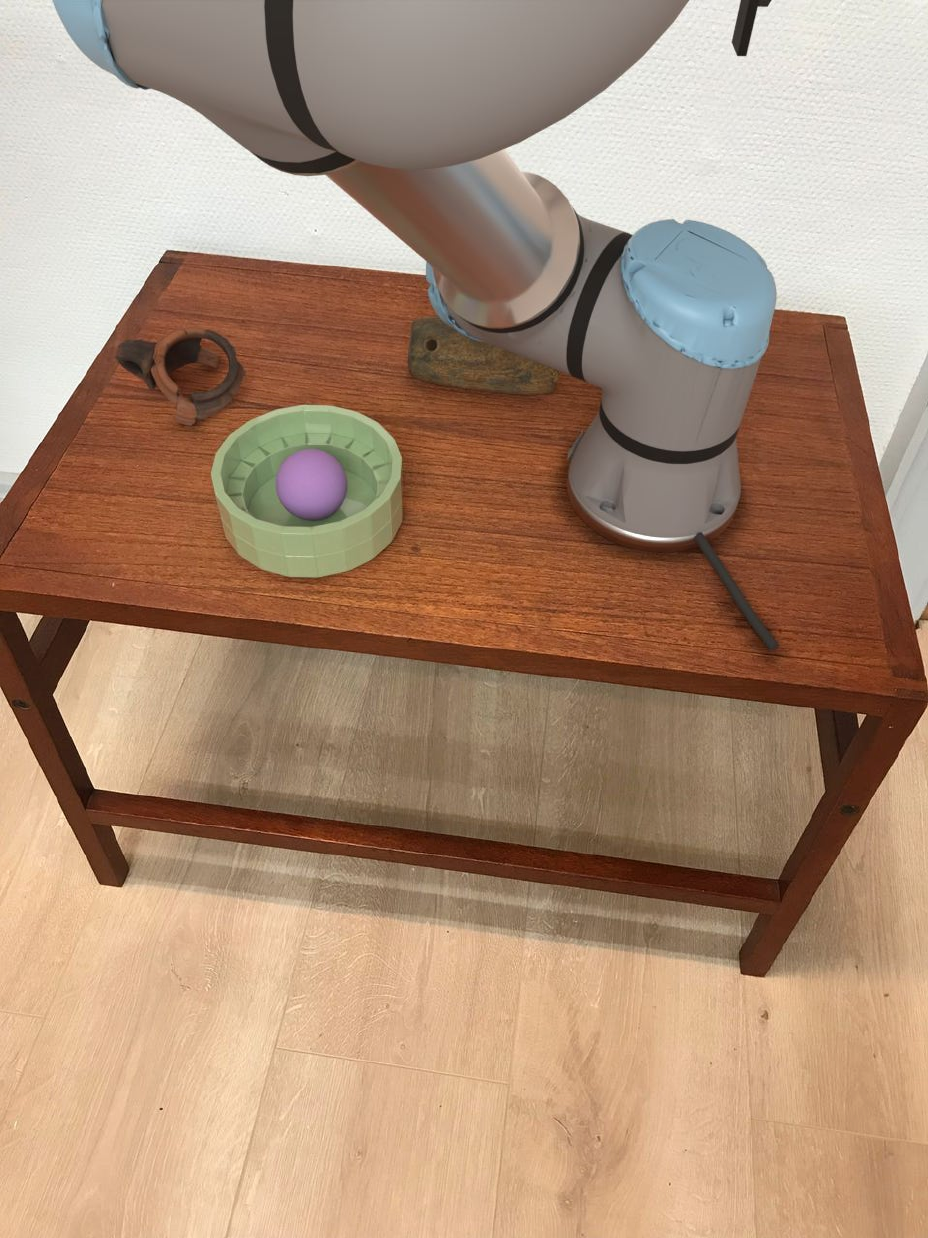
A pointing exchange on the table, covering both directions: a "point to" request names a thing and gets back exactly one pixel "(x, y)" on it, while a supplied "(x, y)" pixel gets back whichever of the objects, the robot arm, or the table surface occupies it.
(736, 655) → the table surface
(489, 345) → the stone weight
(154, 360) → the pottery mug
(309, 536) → the bowl
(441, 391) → the table surface
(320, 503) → the ball
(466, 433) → the table surface
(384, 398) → the table surface
